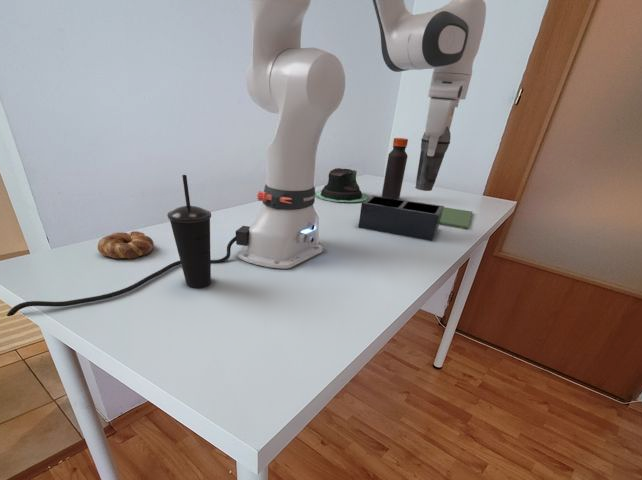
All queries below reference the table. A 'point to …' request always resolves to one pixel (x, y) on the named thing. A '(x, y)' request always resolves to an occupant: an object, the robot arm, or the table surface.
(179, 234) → the drinking cup
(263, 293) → the table surface
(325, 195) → the black fabric hat shape
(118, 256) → the braided bread ring
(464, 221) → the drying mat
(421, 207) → the black divided storage box
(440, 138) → the beverage cup
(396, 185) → the bottle
